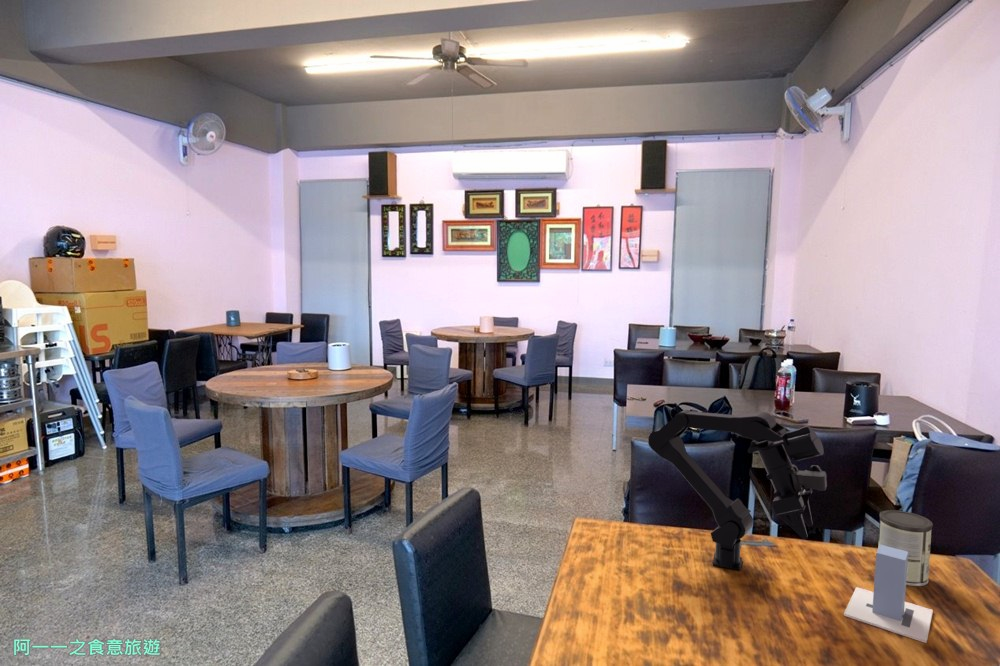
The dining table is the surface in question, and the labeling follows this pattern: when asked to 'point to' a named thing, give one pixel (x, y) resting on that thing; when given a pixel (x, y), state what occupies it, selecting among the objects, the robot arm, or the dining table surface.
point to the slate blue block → (890, 582)
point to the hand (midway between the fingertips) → (808, 531)
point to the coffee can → (908, 541)
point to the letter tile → (910, 626)
